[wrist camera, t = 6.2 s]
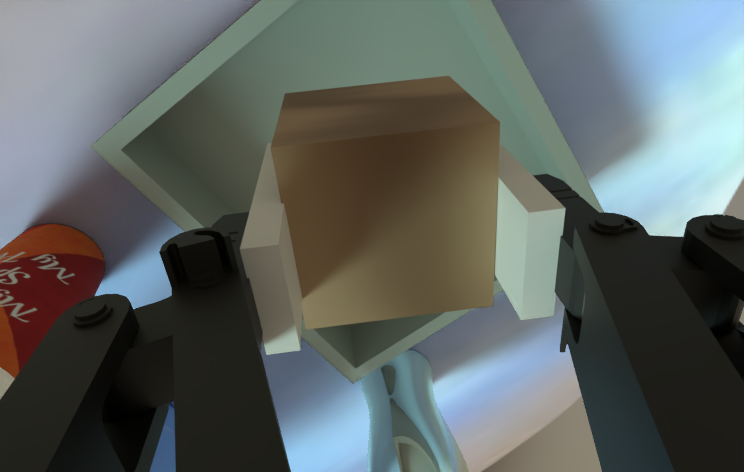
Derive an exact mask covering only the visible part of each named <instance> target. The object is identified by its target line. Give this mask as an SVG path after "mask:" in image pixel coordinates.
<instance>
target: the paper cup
mask: <svg viewBox="0 0 744 472" xmlns="http://www.w3.org/2000/svg"><path fill="white" fill-rule="evenodd" d="M104 272H105V260H104V256H103V254H102V252H101V250H100V248H99V247H98V246H97V244H96V243H95V242H94V241H93V240H92V239H91V238H90V237H88V236H87V235H86V234H84V233H82V232H81V231H79V230H77V229H74V228H72V227H69V226H65V225H60V224H42V225H38V226H34V227H32V228H30V229H28V230H26V231H25V232H23V233H22V234H20V235H19V236H18V237H16V238H15V239H14V240H12V241H11V242H10V243H8V244H7V245H6V246H5V247H3V248H2V249H1V250H0V399H1V398H2V396H3V395H4V393H5V392H6V391H7V389H8V388H9V386H10V385H11V383H12V382H13V381H14V379H15V378H16V376H17V375H18V374H19V372H20V371H21V369H22V368H23V366H24V365H25V364H26V362H27V361H28V359H29V358H30V356H31V355H32V354H33V352H34V351H35V349H36V348H37V347H38V345H39V344H40V342H41V341H42V339H43V338H44V337H45V335H46V334H47V332H48V331H49V329H50V328H51V327H52V325H53V324H54V322H55V321H56V320H57V319H58V318H59V317H60V316H61V315H62V314H63V312H64V311H66V310H67V309H69V308H71V307H72V306H74V305H75V304H76V303H78V302H80V301H82V300H86V299H87V298H90V297H93V296H95V294H96V291H97V289H98V287H99V285H100V283H101V281H102V278H103V275H104Z"/></svg>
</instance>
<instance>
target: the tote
mask: <svg viewBox="0 0 744 472" xmlns="http://www.w3.org/2000/svg"><path fill="white" fill-rule="evenodd" d="M441 76H450V77H451V78H452V79H453V80H454V81H455V82H456V83H458V84H459V85H460V86H461V87H462V88H463V89H464V90H465V91H466V92H468V93H469V94H470V95H471V96H472V97H473V98H474V99H475V100H476V101H478V102H479V103H480V104H481V105H482V106H483V107H484V108H485V109H486V110H488V111H489V112H490V113H491V114H492V115H493V116H494V117H495V118H496V119H498V120H499V121H500V144H501V145H502V146H503V147H504V148H505V149H506V150H507V151H508V152H509V153H510V154H511V155H512V156H513V157H514V158H515V159H516V160H517V161H518V162H519V163H520V164H521V165H522V166H523V167H524V168H525V169H526V170H527V171H528V172H529V173H531V174H532V175H541V174H549V175H551V176H554V177H556V178H559V179H561V180H563V181H564V182H565V183H566V184H568V185H569V186H570V187H571V188H572V190H574V191H575V192H577V193H578V194H579V195H580V197H582V198H583V199H584V200H586V201H587V202H588V203H589V204H590V205H591V206H592V207H593V208H595V209H596V210H597V211H598V212H599V213H600V212H603V213H604V211H603V209H602V208H601V206H600V204H599V202H598V200H597V198H596V196H595V194H594V193H593V191H592V189H591V187H590V185H589V183H588V181H587V179H586V177H585V176H584V174H583V172H582V170H581V168H580V166H579V164H578V162H577V161H576V159H575V157H574V155H573V153H572V151H571V149H570V147H569V146H568V144H567V142H566V140H565V138H564V136H563V134H562V132H561V131H560V129H559V127H558V125H557V123H556V121H555V119H554V117H553V116H552V114H551V112H550V110H549V108H548V106H547V104H546V102H545V101H544V99H543V97H542V95H541V93H540V91H539V89H538V87H537V86H536V84H535V82H534V80H533V78H532V76H531V74H530V72H529V70H528V69H527V67H526V65H525V63H524V61H523V59H522V57H521V55H520V54H519V52H518V50H517V48H516V46H515V44H514V42H513V40H512V39H511V37H510V35H509V33H508V31H507V29H506V27H505V25H504V24H503V22H502V20H501V18H500V16H499V14H498V12H497V10H496V9H495V7H494V5H493V3H492V1H491V0H260V1H259V2H257V3H256V4H255V5H254V6H253V7H252V8H250V9H249V10H248V11H247V12H246V13H245V14H243V15H242V16H241V17H240V18H239V19H238V20H236V21H235V22H234V23H233V24H232V25H231V26H229V27H228V28H227V29H226V30H225V31H224V32H222V33H221V34H220V35H219V36H218V37H217V38H215V39H214V40H213V41H212V42H211V43H210V44H208V45H207V46H206V47H205V48H204V49H203V50H201V51H200V52H199V53H198V54H197V55H196V56H194V57H193V58H192V59H191V60H190V61H189V62H187V63H186V64H185V65H184V66H183V67H182V68H181V69H179V70H178V71H177V72H176V73H175V74H174V75H172V76H171V77H170V78H169V79H168V80H167V81H165V82H164V83H163V84H162V85H161V86H160V87H158V88H157V89H156V90H155V91H154V92H153V93H151V94H150V95H149V96H148V97H147V98H146V99H144V100H143V101H142V102H141V103H140V104H139V105H137V106H136V107H135V108H134V109H133V110H132V111H130V112H129V113H128V114H127V115H126V116H125V117H123V118H122V119H121V120H120V121H119V122H118V123H117V124H115V125H114V126H113V127H112V128H111V129H110V130H109V131H108V132H106V133H105V134H104V135H103V136H102V137H101V138H100V139H99V140H97V141H96V142H95V143H94V144H93V145H92V146H91V147H92V148H93V149H94V150H95V151H96V152H97V153H98V154H99V155H100V156H101V157H103V158H104V159H105V160H106V161H107V162H108V163H109V164H110V165H111V166H113V167H114V168H115V169H116V170H117V171H118V172H119V173H120V174H121V175H123V176H124V177H125V178H126V179H127V180H128V181H129V182H130V183H131V184H132V185H134V186H135V187H136V188H137V189H138V190H139V191H140V192H141V193H142V194H144V195H145V196H146V197H147V198H148V199H149V200H150V201H151V202H152V203H153V204H155V205H156V206H157V207H158V208H159V209H160V210H161V211H162V212H163V213H165V214H166V215H167V216H168V217H169V218H170V219H171V220H172V221H173V222H174V223H176V224H177V225H178V226H179V227H180V228H181V229H182V230H183V231H184V232H186V231H189V230H193V229H198V228H205V227H212V225H213V224H214V223H215V222H216V221H217V220H219V219H220V218H221V217H222V216H223V215H228V214H236V213H244V212H250V208H251V205H252V201H253V197H254V193H255V189H256V186H257V182H258V178H259V174H260V170H261V167H262V163H263V159H264V155H265V151H266V147H267V144H268V143H272V140H273V137H274V133H275V129H276V125H277V121H278V118H279V114H280V110H281V106H282V102H283V99H284V95H285V93H293V92H302V91H312V90H321V89H330V88H339V87H349V86H358V85H367V84H376V83H386V82H395V81H404V80H413V79H423V78H432V77H441ZM501 291H503V288H502V286H501V284H500V283H499V281H498V279H497V277H496V276H495V274H494V293H493V296H495V295H496V294H498V293H500V292H501ZM471 310H472V309H466V310H458V311H450V312H442V313H434V314H426V315H418V316H410V317H402V318H395V319H387V320H379V321H371V322H363V323H355V324H347V325H339V326H331V327H323V328H315V329H307V330H306V329H305V324H304V319H303V313H302V328H301V337H302V338H303V339H304V340H305V341H306V342H307V343H308V344H309V345H311V346H312V347H313V348H314V349H315V350H316V351H317V352H318V353H319V354H321V355H322V356H323V357H324V358H325V359H326V360H327V361H328V362H329V363H330V364H332V365H333V366H334V367H335V368H336V369H337V370H338V371H339V372H340V373H342V374H343V375H344V376H345V377H346V378H347V379H348V380H349V381H350V382H351V383H355V382H356V381H358V380H359V379H361V378H363V377H364V376H366V375H368V374H369V373H371V372H372V371H374V370H376V369H377V368H379V367H380V366H382V365H384V364H385V363H387V362H388V361H390V360H392V359H393V358H395V357H397V356H398V355H400V354H401V353H403V352H405V351H406V350H408V349H409V348H411V347H413V346H414V345H416V344H417V343H419V342H421V341H422V340H424V339H426V338H427V337H429V336H430V335H432V334H434V333H435V332H437V331H438V330H440V329H442V328H443V327H445V326H446V325H448V324H450V323H451V322H453V321H455V320H456V319H458V318H459V317H461V316H463V315H464V314H466V313H467V312H469V311H471Z"/></svg>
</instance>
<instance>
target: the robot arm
mask: <svg viewBox="0 0 744 472" xmlns="http://www.w3.org/2000/svg"><path fill="white" fill-rule="evenodd" d="M271 144H272V143H268V144H267V147H266V151H265V155H264V159H263V163H262V167H261V170H260V174H259V178H258V182H257V186H256V189H255V193H254V197H253V201H252V205H251V208H250V212H244V213H236V214H228V215H223V216H222V217H221V218H220V219H219V220H217V221H216V222H215V223H214V224H213V225H212V227H205V228H198V229H193V230H189V231H186V232H183V233H180V234H178V235H176V236H175V237H173V238H171V239H169V240H168V241H167V242H166V243H165V244H163V245H162V247H161V250H160V255H161V258H162V261H163V264H164V267H165V270H166V272H167V275H168V278H169V281H170V284H171V287H172V296H170V297H168V298H166V299H164V300H161V301H158V302H156V303H152V304H149V305H146V306H143V307H140V308H136V309H133V308H132V306H131V303H130V301H129V300H128V299H127V297H125V296H122V295H119V294H104V295H100V296H93V297H90V298H87V299H86V300H82V301H80V302H78V303H76V304H75V305H74V306H72V307H71V308H69V309H67V310H66V311H64V312H63V314H62V315H61V316H60V317H59V318H58V319H57V320H56V321H55V322H54V324H53V325H52V327H51V328H50V329H49V331H48V332H47V334H46V335H45V337H44V338H43V339H42V341H41V342H40V344H39V345H38V347H37V348H36V349H35V351H34V352H33V354H32V355H31V356H30V358H29V359H28V361H27V362H26V364H25V365H24V366H23V368H22V369H21V371H20V372H19V374H18V375H17V376H16V378H15V379H14V381H13V382H12V383H11V385H10V386H9V388H8V389H7V391H6V392H5V393H4V395H3V396H2V398H1V399H0V472H150V468H151V465H152V462H153V459H154V456H155V452H156V449H157V446H158V443H159V439H160V436H161V433H162V430H163V427H164V423H165V420H166V417H167V414H168V410H169V402H172V401H174V415H175V463H176V472H291V470H290V466H289V463H288V459H287V455H286V451H285V447H284V443H283V439H282V435H281V431H280V427H279V423H278V419H277V415H276V411H275V407H274V403H273V400H272V396H271V392H270V388H269V384H268V380H267V376H266V372H265V368H264V364H263V360H262V356H261V353H260V349H261V342H262V339H263V343H264V347H265V351H266V355H270V354H277V353H285V352H292V351H299V350H301V328H302V301H303V299H302V294H301V288H300V283H299V278H298V273H297V268H296V263H295V257H294V252H293V247H292V242H291V237H290V232H289V227H288V221H287V216H286V211H285V206H284V203H281V200H280V194H279V189H278V184H277V179H276V174H275V169H274V163H273V158H272V153H271ZM494 274H495V276H496V277H497V279H498V281H499V283H500V284H501V286H502V288H503V290H504V291H505V293H506V295H507V297H508V298H509V300H510V302H511V304H512V305H513V307H514V309H515V311H516V312H517V314H518V316H519V318H520V319H521V320H527V319H535V318H542V317H549V316H554V309H555V300H556V295H557V296H558V297H559V299H560V300H561V302H562V303H563V304H564V306H565V310H564V319H563V327H562V335H561V343H560V352H565V349H566V345H567V344H568V346H569V349H570V353H571V357H572V361H573V364H574V368H575V372H576V375H577V379H578V383H579V387H580V390H581V394H582V398H583V402H584V405H585V409H586V413H587V416H588V420H589V424H590V428H591V431H592V435H593V439H594V443H595V446H596V450H597V454H598V457H599V461H600V465H601V469H602V472H744V325H743V324H742V323H741V322H740V321H739V319H740V316H741V313H742V310H743V307H744V220H741V219H737V218H735V217H733V216H728V215H725V216H723V215H719V214H715V215H703V216H699V217H695V218H692V219H691V220H690V221H688V222H687V225H686V229H685V233H684V237H671V236H651V235H648V233H647V232H646V230H645V229H644V227H643V226H642V225H641V224H640V223H639V222H638V221H636V220H634V219H632V218H629V217H627V216H623V215H619V214H615V213H603V212H600V213H599V212H598V211H597V210H596V209H595V208H593V207H592V206H591V205H590V204H589V203H588V202H587V201H586V200H584V199H583V198H582V197H580V195H579V194H578V193H577V192H575V191H574V190H572V188H571V187H570V186H569V185H568V184H566V183H565V182H564V181H563V180H561V179H559V178H556V177H554V176H551V175H549V174H541V175H532V174H531V173H529V172H528V171H527V170H526V169H525V168H524V167H523V166H522V165H521V164H520V163H519V162H518V161H517V160H516V159H515V158H514V157H513V156H512V155H511V154H510V153H509V152H508V151H507V150H506V149H505V148H504V147H503V146H502V145H501V144H500V143H499V168H498V193H497V218H496V243H495V268H494Z"/></svg>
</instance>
